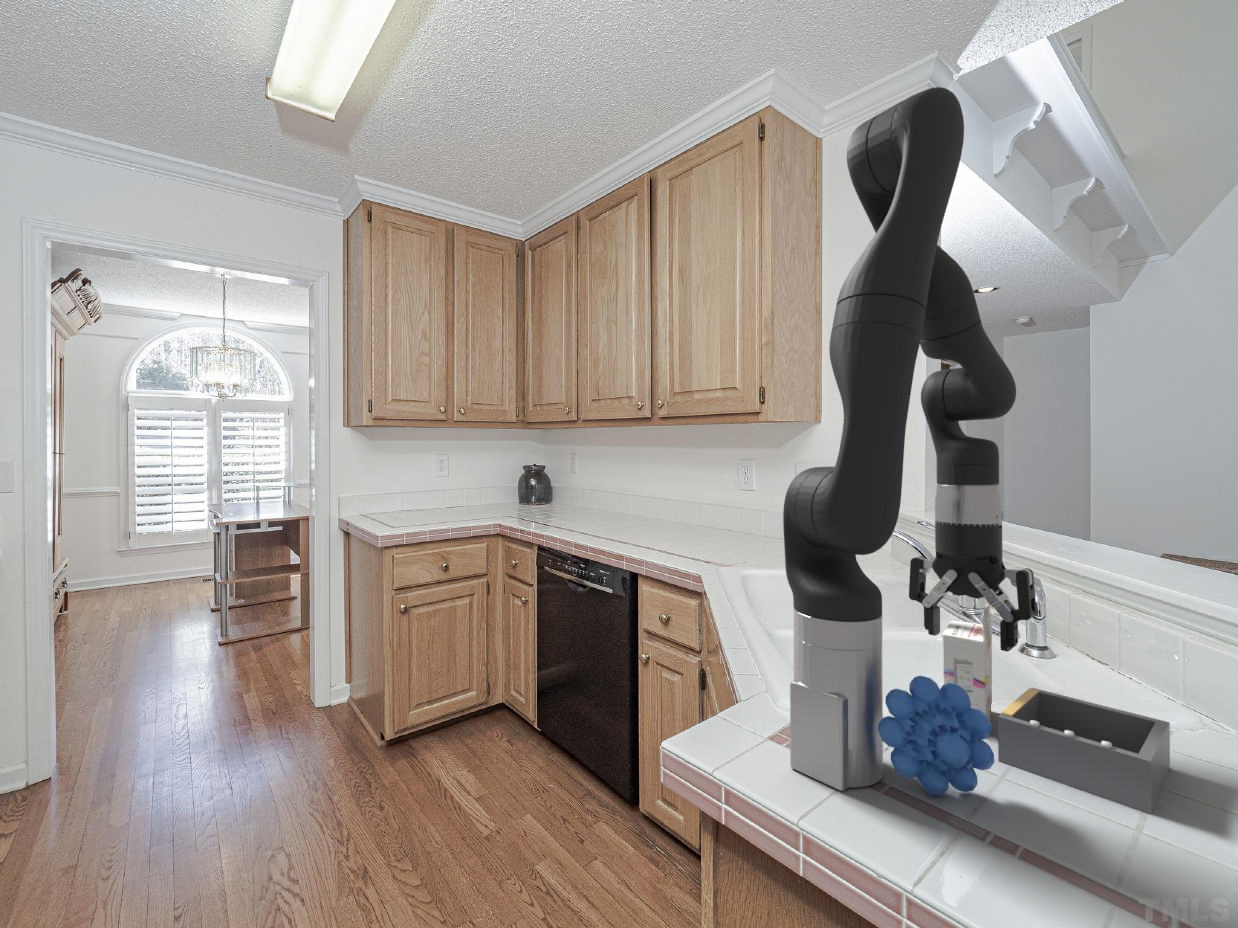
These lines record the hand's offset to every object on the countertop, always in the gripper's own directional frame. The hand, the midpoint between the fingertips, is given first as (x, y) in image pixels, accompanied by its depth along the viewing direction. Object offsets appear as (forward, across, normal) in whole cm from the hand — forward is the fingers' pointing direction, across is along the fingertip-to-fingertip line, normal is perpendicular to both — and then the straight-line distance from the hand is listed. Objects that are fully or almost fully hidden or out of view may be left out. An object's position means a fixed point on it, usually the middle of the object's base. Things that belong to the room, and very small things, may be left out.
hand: (969, 641), depth 74 cm
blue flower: (+10, +5, -22) cm, 25 cm away
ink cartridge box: (+10, 0, 0) cm, 10 cm away
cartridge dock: (+10, +12, -3) cm, 16 cm away
